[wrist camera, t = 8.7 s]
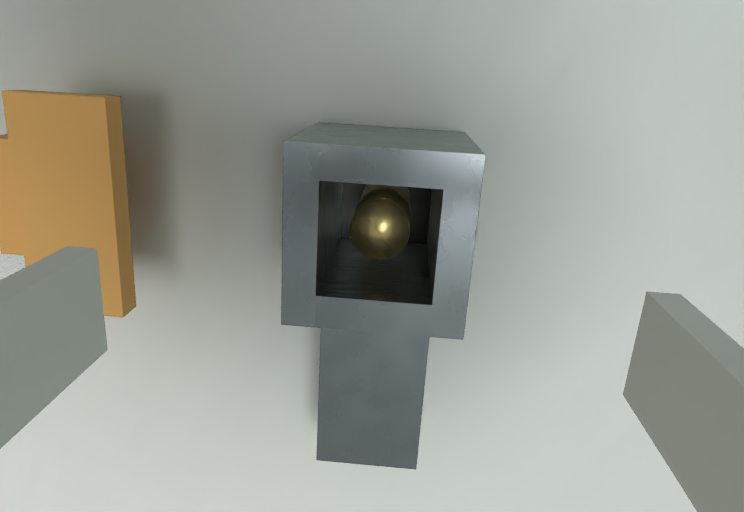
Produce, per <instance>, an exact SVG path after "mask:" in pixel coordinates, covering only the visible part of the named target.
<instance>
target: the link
mask: <svg viewBox="0 0 744 512" xmlns="http://www.w3.org/2000/svg"><path fill="white" fill-rule="evenodd" d="M484 162H485V154H484V153H483V152H482V151H481V149H480V148H479V147H478V146H477V145H476V144H475V143H474V142H473V141H472V140H471V139H470V138H469V136H468V135H467V134H466V133H465V132H455V131H439V130H424V129H409V128H394V127H379V126H364V125H349V124H334V123H317V124H315V125H313V126H311V127H309V128H307V129H305V130H303V131H301V132H300V133H298V134H296V135H294V136H292V137H290V138H288V139H286V140H284V141H283V206H282V300H281V325H293V326H305V327H317V328H321V344H320V373H319V402H318V432H317V460H321V461H332V462H343V463H353V464H364V465H375V466H386V467H396V468H407V469H416V465H417V455H418V445H419V435H420V425H421V415H422V405H423V395H424V385H425V375H426V364H427V354H428V344H429V337H438V338H450V339H463V337H464V329H465V321H466V312H467V304H468V296H469V287H470V279H471V270H472V262H473V254H474V245H475V237H476V229H477V220H478V212H479V204H480V195H481V187H482V179H483V170H484ZM343 182H346V183H360V184H374V185H388V186H402V187H416V188H431V189H432V192H431V203H430V214H429V224H428V235H427V244H414V243H407V244H406V246H405V247H404V249H403V250H402V251H401V252H400V253H398V254H397V255H396V256H394V257H391V258H388V259H383V260H377V259H372V258H369V257H366V256H365V255H363V254H362V253H360V252H359V251H358V250H357V249H356V248H355V246H354V245H353V243H352V240H351V239H347V238H341V218H342V195H343Z"/></svg>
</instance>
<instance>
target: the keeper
mask: <svg viewBox="0 0 744 512" xmlns="http://www.w3.org/2000/svg"><path fill="white" fill-rule="evenodd" d="M2 96H3V104H4V111H5V118H6V126H7V133H8V134H5V135H0V248H1V253H2V254H15V255H24V257H25V265H26V267H27V266H29V265H31V264H33V263H35V262H37V261H39V260H41V259H43V258H45V257H46V256H48V255H50V254H52V253H54V252H56V251H58V250H60V249H62V248H64V247H66V246H71V247H84V248H97V253H98V263H99V272H100V282H101V292H102V302H103V311H104V316H113V317H124V316H125V315H126V314H128V313H129V312H130V311H131V310H132V309H134V308H135V307H136V297H135V284H134V271H133V257H132V244H131V231H130V217H129V204H128V191H127V177H126V164H125V151H124V137H123V124H122V111H121V97H120V96H109V95H93V94H78V93H62V92H47V91H32V90H7V91H2Z"/></svg>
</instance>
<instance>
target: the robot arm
mask: <svg viewBox="0 0 744 512" xmlns="http://www.w3.org/2000/svg"><path fill="white" fill-rule="evenodd" d="M106 350H107V340H106V331H105V321H104V311H103V302H102V292H101V282H100V272H99V263H98V253H97V248H84V247H71V246H66V247H64V248H62V249H60V250H58V251H56V252H54V253H52V254H50V255H48V256H46V257H45V258H43V259H41V260H39V261H37V262H35V263H33V264H31V265H29V266H27V267H25V268H23V269H21V270H19V271H18V272H16V273H14V274H12V275H10V276H8V277H6V278H4V279H2V280H0V449H1V448H2V447H3V446H4V445H5V444H6V443H7V442H8V441H9V440H10V439H11V438H12V437H13V436H15V435H16V434H17V433H18V432H19V431H20V430H21V429H22V428H23V427H24V426H25V425H26V424H28V423H29V422H30V421H31V420H32V419H33V418H34V417H35V416H36V415H37V414H38V413H39V412H41V411H42V410H43V409H44V408H45V407H46V406H47V405H48V404H49V403H50V402H51V401H52V400H53V399H55V398H56V397H57V396H58V395H59V394H60V393H61V392H62V391H63V390H64V389H65V388H66V387H68V386H69V385H70V384H71V383H72V382H73V381H74V380H75V379H76V378H77V377H78V376H79V375H81V374H82V373H83V372H84V371H85V370H86V369H87V368H88V367H89V366H90V365H91V364H92V363H94V362H95V361H96V360H97V359H98V358H99V357H100V356H101V355H102V354H103V353H104V352H105V351H106ZM623 395H624V397H625V398H626V400H627V402H628V403H629V405H630V406H631V408H632V410H633V411H634V413H635V414H636V416H637V417H638V419H639V421H640V422H641V424H642V425H643V427H644V428H645V430H646V432H647V433H648V435H649V436H650V438H651V439H652V441H653V443H654V444H655V446H656V447H657V449H658V450H659V452H660V454H661V455H662V457H663V458H664V460H665V461H666V463H667V465H668V466H669V468H670V469H671V471H672V472H673V474H674V476H675V477H676V479H677V480H678V482H679V484H680V485H681V487H682V488H683V490H684V491H685V493H686V495H687V496H688V498H689V499H690V501H691V502H692V504H693V506H694V507H695V509H696V510H697V512H744V348H742V347H741V346H740V345H739V344H738V343H737V342H735V341H734V340H733V339H732V338H731V337H730V336H728V335H727V334H726V333H725V332H724V331H723V330H721V329H720V328H719V327H718V326H717V325H716V324H714V323H713V322H712V321H711V320H710V319H709V318H707V317H706V316H705V315H704V314H703V313H702V312H700V311H699V310H698V309H697V308H696V307H695V306H693V305H692V304H691V303H690V302H689V301H688V300H686V299H685V298H684V297H683V296H682V295H681V294H671V293H659V292H646V296H645V301H644V305H643V310H642V314H641V318H640V323H639V327H638V331H637V336H636V340H635V344H634V349H633V353H632V357H631V362H630V366H629V370H628V375H627V379H626V384H625V388H624V392H623Z"/></svg>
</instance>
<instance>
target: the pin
mask: <svg viewBox="0 0 744 512" xmlns="http://www.w3.org/2000/svg"><path fill="white" fill-rule="evenodd" d="M409 235H410V194H409V191H408V189H407V187H402V186H388V185H374V184H367V185H366V187H365V189H364V191H363V193H362V196H361V198H360V201H359V203H358V205H357V208H356V210H355V213H354V215H353V218H352V220H351V223H350V237H351V240H352V243H353V245H354V246H355V248H356V249H357V250H358V251H359V252H360V253H362V254H363V255H365V256H366V257H369V258H372V259H377V260H383V259H388V258H391V257H394V256H396V255H397V254H398V253H400V252H401V251H402V250H403V249H404V247H405V246H406V244H407V242H408V239H409Z"/></svg>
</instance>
